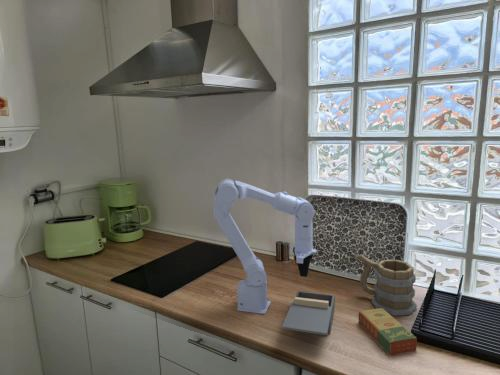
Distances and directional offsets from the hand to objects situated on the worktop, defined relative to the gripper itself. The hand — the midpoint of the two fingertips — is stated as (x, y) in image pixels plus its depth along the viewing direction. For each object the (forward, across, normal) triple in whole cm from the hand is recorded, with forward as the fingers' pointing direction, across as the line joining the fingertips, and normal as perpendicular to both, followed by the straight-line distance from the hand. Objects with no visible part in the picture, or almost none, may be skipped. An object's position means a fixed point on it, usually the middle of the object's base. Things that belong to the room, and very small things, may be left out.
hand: (303, 275), depth 118 cm
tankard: (+10, +8, -25) cm, 28 cm away
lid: (+5, -18, -4) cm, 19 cm away
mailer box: (+10, -8, -4) cm, 14 cm away
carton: (+10, -12, -25) cm, 30 cm away
